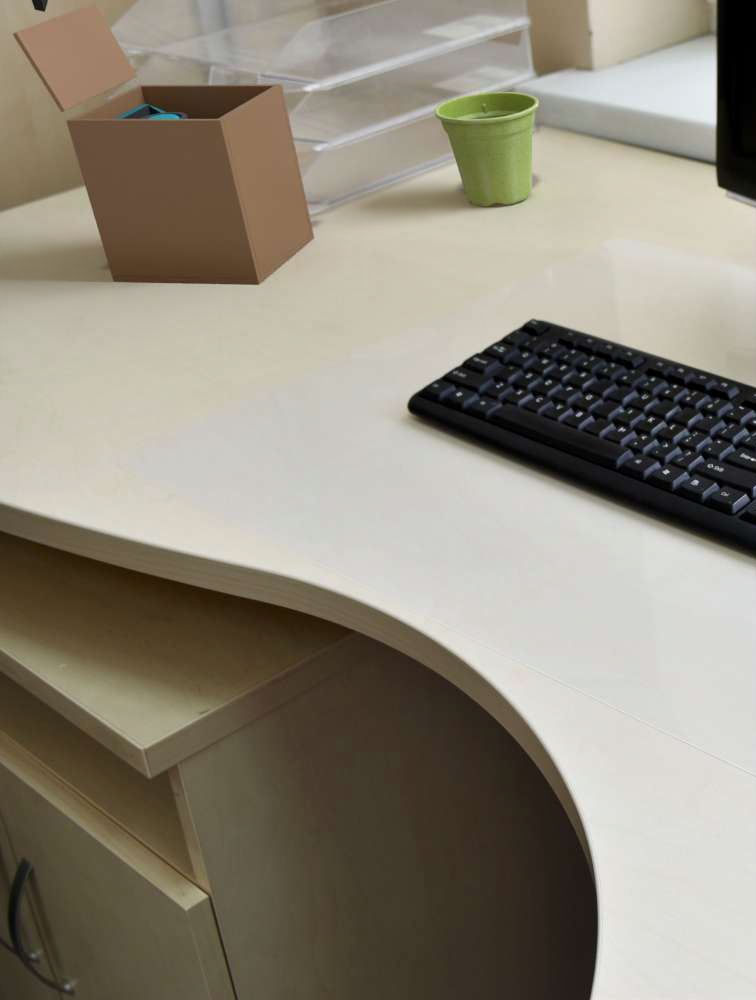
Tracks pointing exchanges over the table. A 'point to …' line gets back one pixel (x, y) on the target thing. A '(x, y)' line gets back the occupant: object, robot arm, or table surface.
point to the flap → (75, 56)
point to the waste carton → (194, 183)
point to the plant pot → (492, 144)
